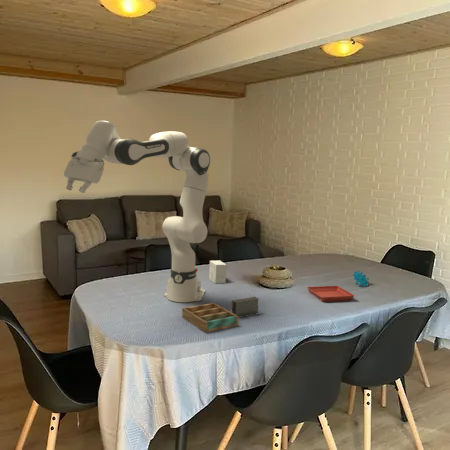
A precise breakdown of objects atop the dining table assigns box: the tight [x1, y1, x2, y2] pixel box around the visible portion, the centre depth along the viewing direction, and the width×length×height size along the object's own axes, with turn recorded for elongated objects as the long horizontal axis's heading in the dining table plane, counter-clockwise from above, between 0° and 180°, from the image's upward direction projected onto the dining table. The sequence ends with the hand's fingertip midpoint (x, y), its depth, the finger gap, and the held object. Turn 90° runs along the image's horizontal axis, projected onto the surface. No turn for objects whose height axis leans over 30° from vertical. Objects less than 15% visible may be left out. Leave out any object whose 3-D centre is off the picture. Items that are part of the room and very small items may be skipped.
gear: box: [352, 270, 370, 288], centre depth 260 cm, size 11×6×10 cm
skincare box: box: [208, 260, 227, 284], centre depth 255 cm, size 10×6×10 cm, turn 22°
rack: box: [181, 302, 240, 333], centre depth 194 cm, size 16×19×4 cm
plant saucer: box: [306, 285, 355, 303], centre depth 235 cm, size 18×18×3 cm
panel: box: [231, 296, 259, 318], centre depth 204 cm, size 12×3×7 cm, turn 123°
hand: (74, 190), depth 175 cm, fingers open, 8 cm apart
